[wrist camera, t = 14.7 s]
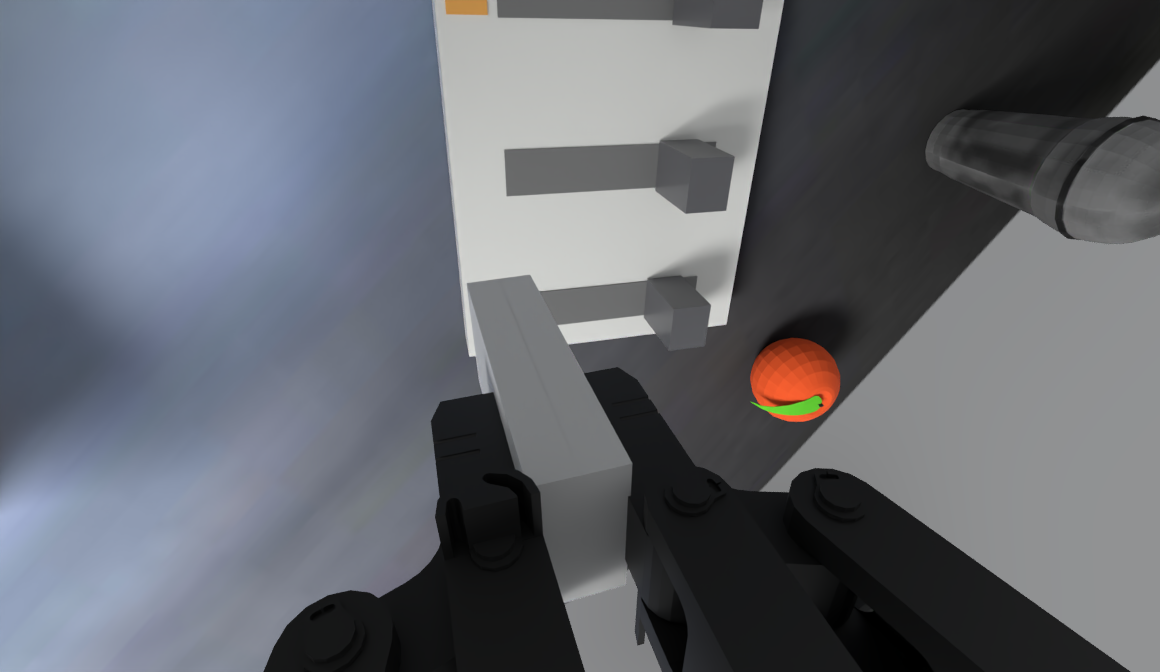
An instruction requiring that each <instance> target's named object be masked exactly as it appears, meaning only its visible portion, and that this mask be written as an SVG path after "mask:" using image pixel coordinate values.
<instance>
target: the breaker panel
mask: <svg viewBox="0 0 1160 672" xmlns="http://www.w3.org/2000/svg"><path fill="white" fill-rule="evenodd" d="M783 4H784V0H763V5H762V12H761V18H760V24H759V29H716V28H700V27H689V26H678V25H672V21H673V10H674V0H432V8H433V18H434V27H435V37H436V47H437V57H438V67H439V77H440V87H441V97H442V107H443V117H444V127H445V137H446V147H447V157H448V166H449V176H450V186H451V196H452V206H453V216H454V226H455V236H456V246H457V256H458V266H459V276H460V286H461V296H462V306H463V315H464V325H465V335H466V340H467V346H468V351H469V357H471V356H476V353H475V346H474V338H473V330H472V322H471V315H470V307H469V299H468V292H467V284H466V283H471V282H479V281H486V280H493V279H501V278H508V277H516V276H523V275H531V277H532V279H533V281H534V283H535V285H536V286H537V288H538V290H539V292H540V294H541V296H542V297H543V299H544V301H545V303H546V305H547V307H548V309H549V310H550V312H551V314H552V316H553V318H554V320H555V321H556V323H557V325H558V327H559V329H560V331H561V333H562V334H563V336H564V338H565V340H566V342H567V344H575V343H583V342H591V341H599V340H607V339H615V338H623V337H631V336H639V335H647V334H655V333H656V334H657V336H658V337H659V338H660V340H661V341H662V342H663V344H664V345H665V346H666V348H667V349H668V350H669V351H672V350H680V349H687V348H695V347H702V346H705V341H706V335H707V328H708V327H711V326H719V325H726V323H727V318H728V312H729V307H730V301H731V295H732V290H733V284H734V279H735V273H736V267H737V262H738V256H739V251H740V245H741V239H742V234H743V228H744V223H745V217H746V211H747V206H748V200H749V194H750V189H751V183H752V178H753V172H754V166H755V161H756V155H757V150H758V144H759V138H760V133H761V127H762V122H763V116H764V110H765V105H766V99H767V94H768V88H769V82H770V77H771V71H772V66H773V60H774V54H775V49H776V43H777V38H778V32H779V26H780V21H781V15H782V10H783Z"/></svg>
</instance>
